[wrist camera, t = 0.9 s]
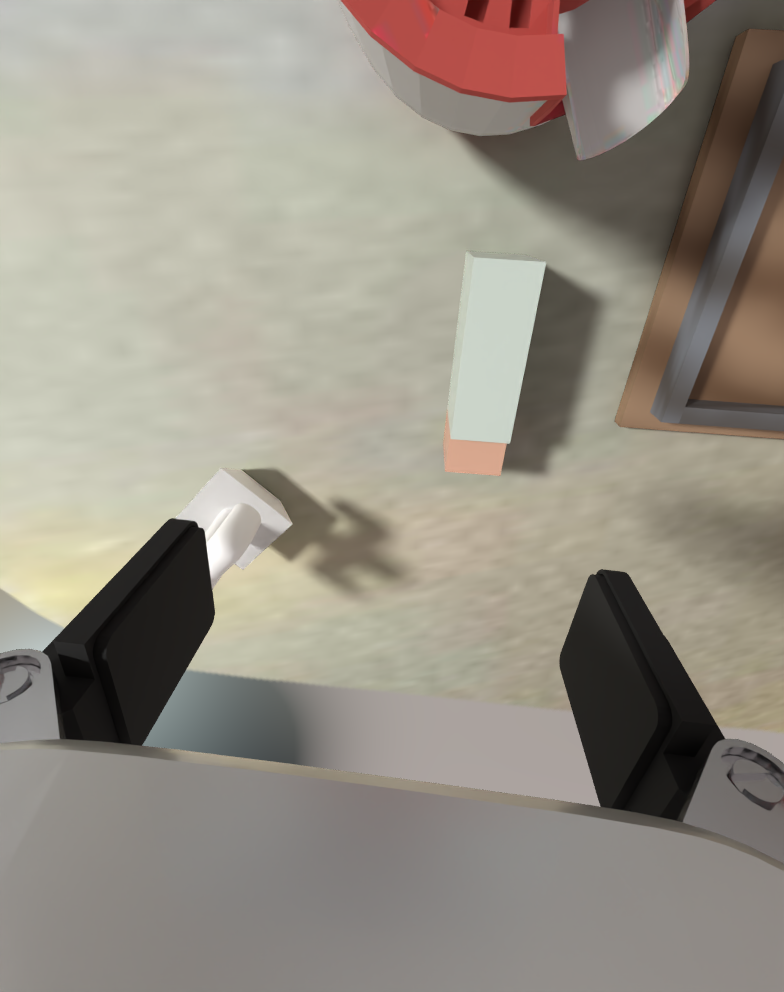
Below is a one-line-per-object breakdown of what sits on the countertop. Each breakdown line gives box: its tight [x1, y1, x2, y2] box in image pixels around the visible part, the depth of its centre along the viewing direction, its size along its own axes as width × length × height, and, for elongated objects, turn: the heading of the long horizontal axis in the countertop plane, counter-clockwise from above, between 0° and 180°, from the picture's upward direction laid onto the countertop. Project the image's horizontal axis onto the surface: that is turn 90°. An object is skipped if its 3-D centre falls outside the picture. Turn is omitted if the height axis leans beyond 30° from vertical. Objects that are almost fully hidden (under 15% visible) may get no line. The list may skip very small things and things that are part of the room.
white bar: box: [443, 251, 546, 476], centre depth 32 cm, size 14×4×6 cm, turn 177°
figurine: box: [175, 468, 292, 590], centre depth 36 cm, size 7×9×15 cm
